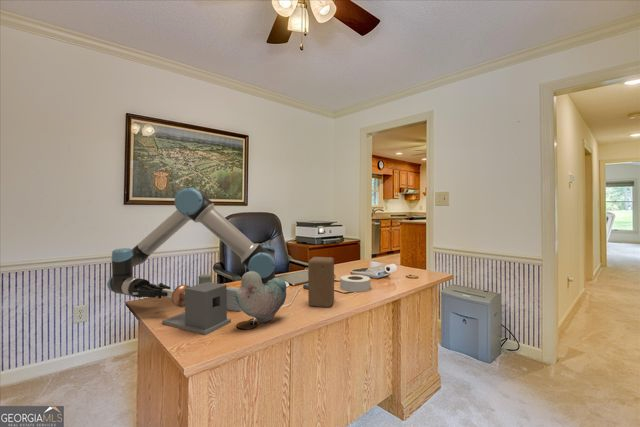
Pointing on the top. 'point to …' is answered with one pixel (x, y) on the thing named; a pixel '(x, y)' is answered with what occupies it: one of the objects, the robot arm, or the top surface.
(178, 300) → the orange rounded long piece
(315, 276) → the wooden block
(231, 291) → the medicine box
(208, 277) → the air freshener
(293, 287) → the top surface
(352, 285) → the roll of tape
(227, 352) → the top surface
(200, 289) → the bearing block
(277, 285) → the grey rounded bird shape
